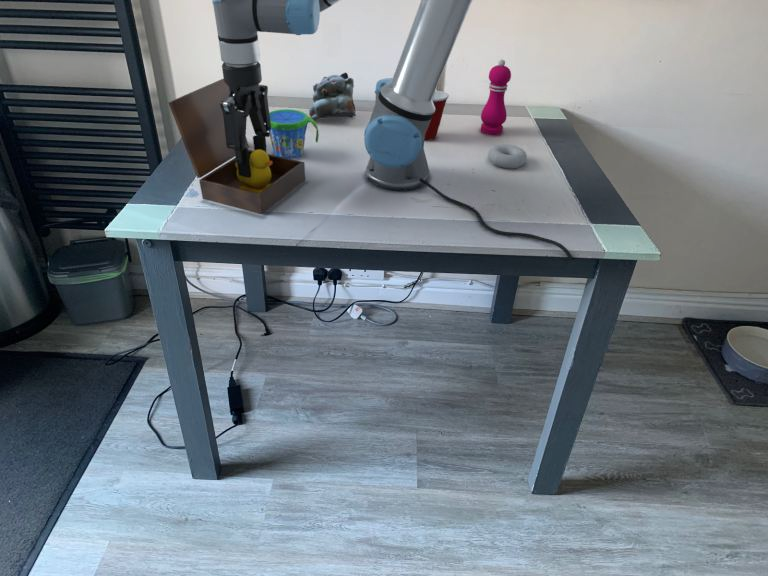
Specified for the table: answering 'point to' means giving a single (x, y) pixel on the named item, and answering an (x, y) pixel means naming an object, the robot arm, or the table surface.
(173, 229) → the table surface
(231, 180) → the chest
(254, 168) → the duck
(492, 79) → the pepper mill
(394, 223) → the table surface
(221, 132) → the lid
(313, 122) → the snack cup
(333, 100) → the lucky cat figurine
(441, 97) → the plastic cup
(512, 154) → the donut
